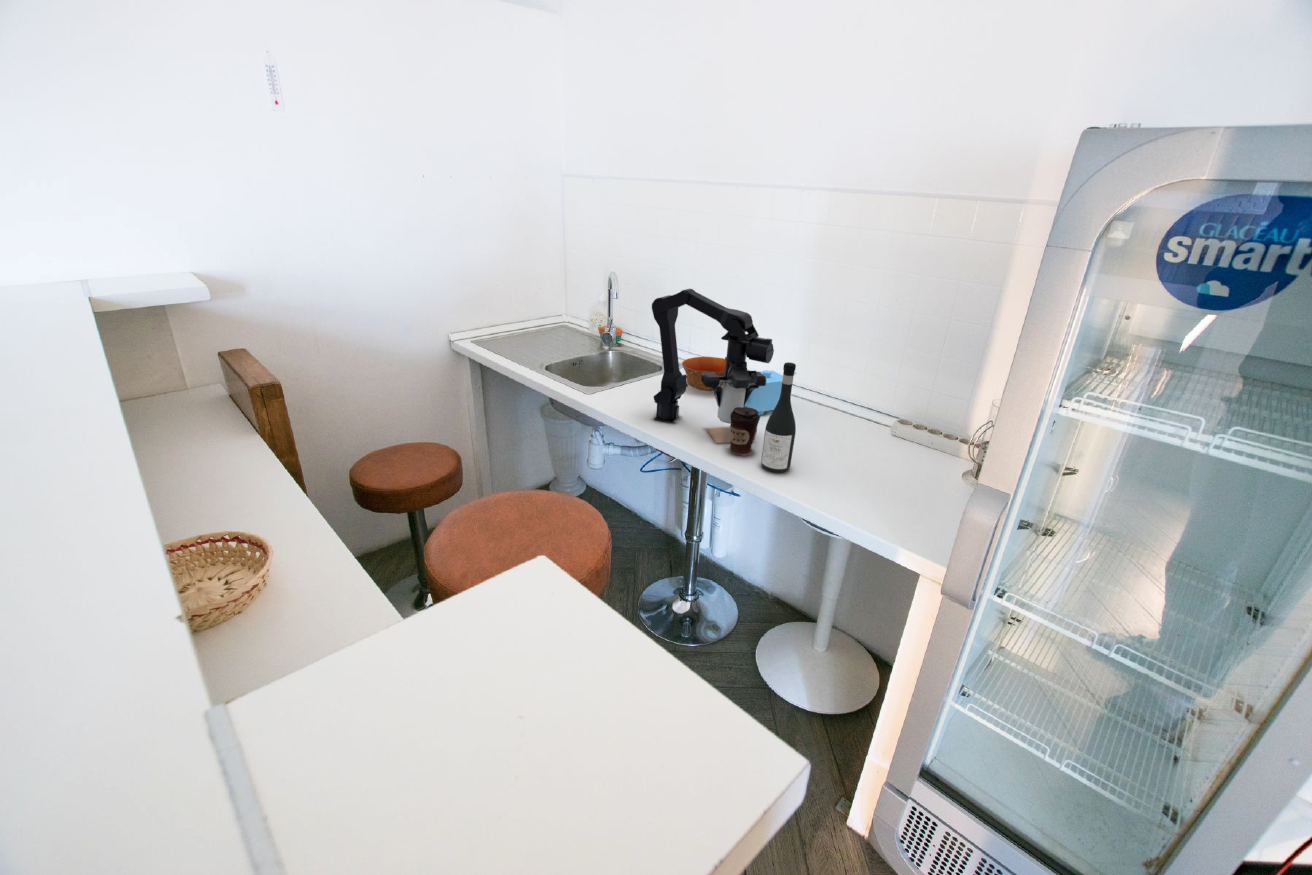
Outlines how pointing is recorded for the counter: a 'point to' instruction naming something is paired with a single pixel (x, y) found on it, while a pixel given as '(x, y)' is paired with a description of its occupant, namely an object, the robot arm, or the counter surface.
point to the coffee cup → (743, 429)
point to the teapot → (766, 393)
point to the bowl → (702, 370)
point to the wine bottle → (780, 428)
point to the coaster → (720, 434)
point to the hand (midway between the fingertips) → (730, 405)
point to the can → (730, 401)
